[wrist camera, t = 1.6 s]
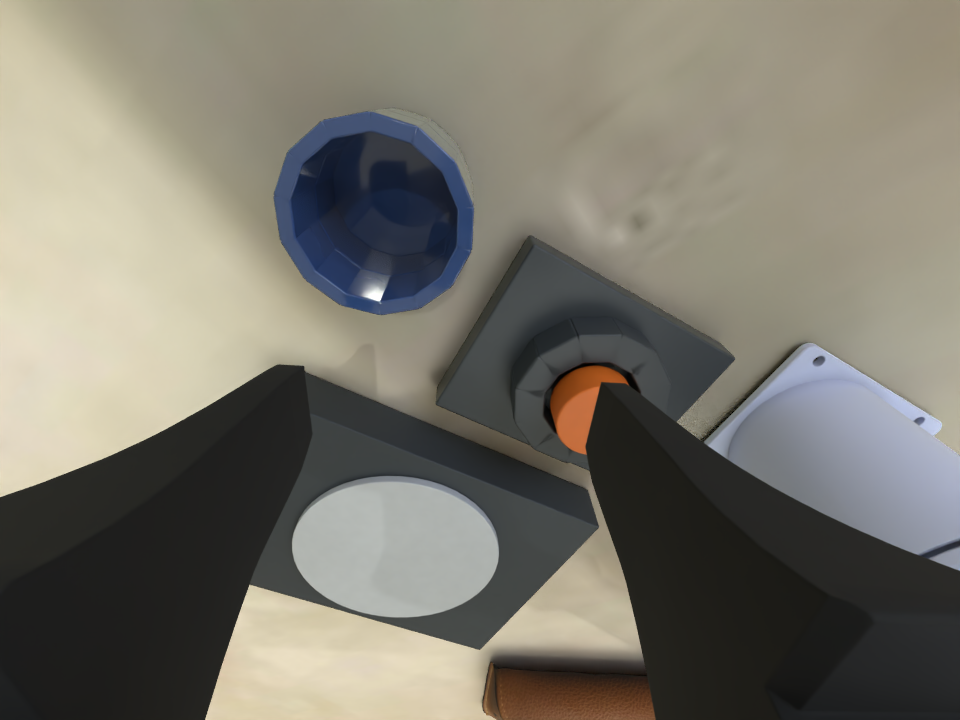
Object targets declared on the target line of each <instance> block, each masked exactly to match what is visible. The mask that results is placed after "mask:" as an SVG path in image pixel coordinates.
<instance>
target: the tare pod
mask: <svg viewBox="0 0 960 720" xmlns="http://www.w3.org/2000/svg"><path fill="white" fill-rule="evenodd" d="M734 360H735V357H734V356H733V355H732V354H731V353H730V352H729V351H728V350H727V349H726V348H725V347H724V346H723V345H722V344H721V343H719V342H717V341H715V340H714V339H712V338H710V337H708V336H707V335H705V334H703V333H701V332H700V331H698V330H696V329H694V328H693V327H691V326H689V325H687V324H686V323H684V322H682V321H680V320H679V319H677V318H675V317H673V316H672V315H670V314H668V313H666V312H665V311H663V310H661V309H659V308H658V307H656V306H654V305H652V304H651V303H649V302H647V301H645V300H644V299H642V298H640V297H638V296H637V295H635V294H633V293H631V292H630V291H628V290H626V289H624V288H623V287H621V286H619V285H617V284H616V283H614V282H612V281H610V280H609V279H607V278H605V277H603V276H602V275H600V274H598V273H596V272H595V271H593V270H591V269H589V268H588V267H586V266H584V265H582V264H581V263H579V262H577V261H575V260H574V259H572V258H570V257H568V256H567V255H565V254H563V253H561V252H560V251H558V250H556V249H554V248H553V247H551V246H549V245H547V244H546V243H544V242H542V241H540V240H539V239H537V238H535V237H533V236H531V235H530V236H528V238H527V240H526V241H525V243H524V244H523V246H522V248H521V249H520V251H519V253H518V254H517V256H516V258H515V259H514V261H513V263H512V264H511V266H510V268H509V269H508V271H507V273H506V274H505V276H504V278H503V279H502V281H501V283H500V284H499V286H498V288H497V289H496V291H495V292H494V294H493V296H492V297H491V299H490V301H489V302H488V304H487V306H486V307H485V309H484V311H483V312H482V314H481V316H480V317H479V319H478V321H477V322H476V324H475V326H474V327H473V329H472V331H471V332H470V334H469V336H468V337H467V339H466V340H465V342H464V344H463V345H462V347H461V349H460V350H459V352H458V354H457V355H456V357H455V359H454V360H453V362H452V364H451V365H450V367H449V369H448V370H447V372H446V374H445V375H444V377H443V379H442V380H441V382H440V384H439V385H438V387H437V395H436V405H438V406H440V407H442V408H445V409H447V410H449V411H452V412H454V413H456V414H459V415H461V416H463V417H466V418H468V419H470V420H472V421H475V422H477V423H479V424H482V425H484V426H486V427H489V428H491V429H493V430H496V431H498V432H500V433H503V434H505V435H507V436H510V437H512V438H514V439H517V440H519V441H521V442H524V443H526V444H528V445H530V446H531V447H532V448H534V449H535V450H537V451H539V452H541V453H544V454H546V455H548V456H551V457H553V458H555V459H558V460H560V461H562V462H566V463H572V464H575V465H577V466H579V467H582V468H584V469H586V470H589V471H590V469H589V464H588V459H587V455H586V454H581V453H578V452H575V451H573V450H571V449H570V448H568V447H567V446H566V445H565V444H563V442H562V441H561V440H560V438H559V437H558V434H557V431H556V427H555V424H554V420H553V416H552V413H551V408H550V398H551V394H552V392H553V390H554V388H555V386H556V385H557V383H558V382H559V381H560V380H561V379H562V378H563V377H564V376H565V375H567V374H568V373H570V372H572V371H573V370H576V369H578V368H581V367H585V366H593V365H596V366H605V367H608V368H611V369H614V370H615V371H617V372H619V373H620V374H621V375H622V376H623V377H624V378H625V379H626V381H627V382H628V384H629V386H630V387H632V388H633V389H634V390H636V391H637V392H638V393H640V394H641V395H642V396H644V397H645V398H646V399H647V400H649V401H650V402H651V403H652V404H654V405H655V406H656V407H658V408H659V409H660V410H661V411H663V412H664V413H665V414H666V415H668V416H669V417H670V418H671V419H673V420H674V421H675V422H677V421H678V420H679V419H680V417H681V416H682V415H683V414H684V413H685V412H686V411H687V410H688V409H689V408H690V407H691V406H692V405H693V404H694V403H695V402H696V400H697V399H698V398H699V397H700V396H701V395H702V394H703V393H704V392H705V391H706V390H707V389H708V388H709V387H710V386H711V385H712V383H713V382H714V381H715V380H716V379H717V378H718V377H719V376H720V375H721V374H722V373H723V372H724V371H725V370H726V369H727V368H728V366H729V365H730V364H731V363H732V362H733V361H734Z"/></svg>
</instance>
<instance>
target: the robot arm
mask: <svg viewBox="0 0 960 720" xmlns="http://www.w3.org/2000/svg"><path fill="white" fill-rule="evenodd" d="M817 357H818V359H817V360H815V361H813V360H814V359H815V358H817ZM941 427H942V423H941V422H940V421H939V420H937V419H936V418H934V417H933V416H931V415H930V414H928V413H926V412H925V411H923V410H921V409H920V408H918V407H917V406H915V405H913V404H912V403H910V402H908V401H907V400H905V399H904V398H902V397H900V396H899V395H897V394H895V393H894V392H892V391H891V390H889V389H887V388H886V387H884V386H882V385H881V384H879V383H878V382H876V381H874V380H873V379H871V378H869V377H868V376H866V375H865V374H863V373H861V372H860V371H858V370H856V369H855V368H853V367H852V366H850V365H848V364H847V363H845V362H843V361H842V360H840V359H839V358H837V357H835V356H834V355H832V354H830V353H829V352H827V351H826V350H824V349H822V348H821V347H819V346H817V345H816V344H814V343H806V344H803V345H801V346H800V347H799V348H798V349H797V350H796V351H795V352H794V353H793V354H792V355H791V356H790V357H789V358H788V359H787V360H786V361H785V362H784V363H783V364H782V365H781V366H780V367H779V368H778V369H776V370H775V371H774V372H773V373H772V374H771V375H770V376H769V377H768V378H767V379H766V380H765V381H764V382H763V383H762V384H761V385H760V386H759V387H758V388H757V389H756V390H755V391H754V392H753V393H752V394H751V395H750V396H749V397H748V398H747V399H746V400H745V401H744V402H743V403H742V404H741V405H740V406H739V407H738V408H737V409H736V410H735V411H734V412H733V413H732V414H731V415H730V416H729V417H728V418H727V419H726V420H725V421H724V422H723V423H722V424H721V425H720V426H719V427H718V428H717V429H716V430H715V431H714V432H713V433H712V434H711V435H710V436H709V437H708V438H707V439H706V440H705V441H704V442H702V441H701V440H699V439H698V438H696V437H695V436H694V435H692V434H691V433H690V432H688V431H687V430H686V429H684V428H683V427H682V426H680V425H679V424H678V423H677V422H675V421H674V420H673V419H671V418H670V417H669V416H668V415H666V414H665V413H664V412H663V411H661V410H660V409H659V408H658V407H656V406H655V405H654V404H652V403H651V402H650V401H649V400H647V399H646V398H645V397H644V396H642V395H641V394H640V393H638V392H637V391H636V390H634V389H633V388H632V387H630V386H629V385H627V384H626V383H610V382H601V384H600V388H599V393H598V397H597V401H596V405H595V409H594V413H593V417H592V421H591V425H590V429H589V433H588V437H587V442H586V446H585V448H586V453H587V459H588V464H589V469H590V474H591V479H592V483H593V486H594V489H595V492H596V495H597V498H598V501H599V504H600V507H601V509H602V512H603V515H604V518H605V521H606V524H607V526H608V529H609V532H610V535H611V538H612V541H613V544H614V546H615V549H616V552H617V555H618V558H619V561H620V563H621V567H622V570H623V573H624V577H625V580H626V583H627V588H628V592H629V596H630V600H631V604H632V608H633V613H634V617H635V621H636V625H637V630H638V635H639V639H640V644H641V649H642V653H643V658H644V663H645V667H646V672H647V677H648V682H649V688H650V693H651V698H652V703H653V709H654V714H655V719H656V720H960V455H959V454H957V453H956V452H955V451H953V450H952V449H951V448H949V447H948V446H946V445H945V444H944V443H942V442H941V441H939V440H938V439H937V438H935V437H934V435H935V434H936V433H938V432H939V431H940V429H941ZM312 435H313V433H312V425H311V417H310V409H309V402H308V394H307V386H306V378H305V371H304V366H295V365H276V366H274V367H272V368H270V369H268V370H267V371H265V372H263V373H262V374H260V375H258V376H257V377H255V378H253V379H252V380H250V381H248V382H247V383H245V384H244V385H242V386H240V387H239V388H237V389H235V390H234V391H232V392H230V393H229V394H227V395H225V396H224V397H222V398H221V399H219V400H217V401H216V402H214V403H212V404H211V405H209V406H207V407H205V408H204V409H202V410H200V411H198V412H196V413H195V414H193V415H191V416H189V417H187V418H186V419H184V420H182V421H180V422H178V423H177V424H175V425H173V426H171V427H169V428H168V429H166V430H164V431H162V432H160V433H158V434H156V435H154V436H152V437H150V438H148V439H146V440H144V441H142V442H140V443H137V444H135V445H133V446H131V447H129V448H126V449H124V450H122V451H120V452H118V453H115V454H113V455H111V456H109V457H106V458H104V459H102V460H99V461H97V462H94V463H92V464H89V465H86V466H84V467H81V468H79V469H76V470H74V471H71V472H69V473H66V474H63V475H61V476H58V477H56V478H53V479H51V480H48V481H46V482H43V483H40V484H37V485H35V486H32V487H29V488H26V489H23V490H20V491H17V492H14V493H11V494H8V495H6V496H3V497H0V720H205V718H206V715H207V711H208V708H209V705H210V702H211V699H212V695H213V692H214V689H215V686H216V682H217V679H218V676H219V673H220V669H221V666H222V663H223V660H224V657H225V654H226V651H227V648H228V645H229V642H230V639H231V636H232V633H233V630H234V627H235V624H236V621H237V618H238V615H239V612H240V609H241V607H242V604H243V601H244V598H245V595H246V593H247V590H248V587H249V584H250V581H251V579H252V576H253V573H254V571H255V568H256V566H257V564H258V561H259V559H260V557H261V554H262V552H263V550H264V548H265V546H266V544H267V542H268V540H269V537H270V535H271V533H272V531H273V529H274V527H275V525H276V523H277V521H278V519H279V517H280V515H281V512H282V510H283V508H284V506H285V504H286V502H287V500H288V498H289V496H290V494H291V492H292V489H293V487H294V485H295V483H296V481H297V479H298V477H299V474H300V472H301V470H302V467H303V464H304V461H305V458H306V455H307V452H308V448H309V445H310V442H311V438H312Z"/></svg>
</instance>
